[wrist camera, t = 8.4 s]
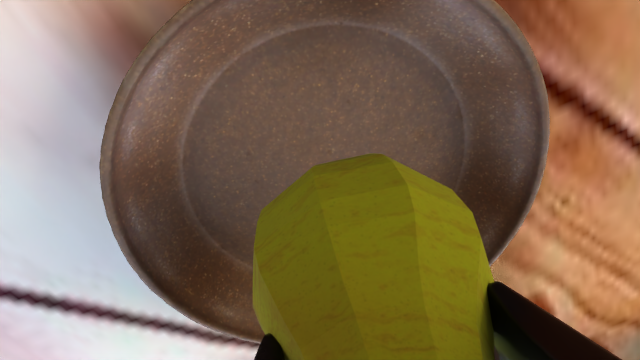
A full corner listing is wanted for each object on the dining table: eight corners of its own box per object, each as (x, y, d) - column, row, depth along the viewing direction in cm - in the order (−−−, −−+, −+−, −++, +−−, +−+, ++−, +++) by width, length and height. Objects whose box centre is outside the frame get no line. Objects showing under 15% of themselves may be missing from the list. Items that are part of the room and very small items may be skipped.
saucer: (522, -106, 11) (592, -121, 9) (499, 254, 19) (533, 296, 17) (33, 17, 11) (-27, 34, 9) (214, 330, 19) (208, 382, 16)
